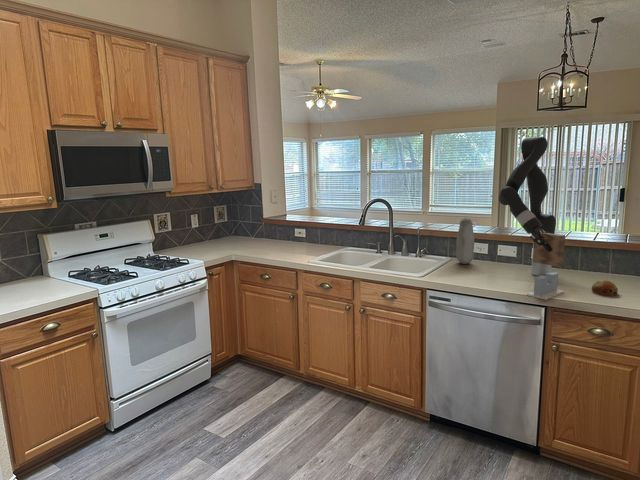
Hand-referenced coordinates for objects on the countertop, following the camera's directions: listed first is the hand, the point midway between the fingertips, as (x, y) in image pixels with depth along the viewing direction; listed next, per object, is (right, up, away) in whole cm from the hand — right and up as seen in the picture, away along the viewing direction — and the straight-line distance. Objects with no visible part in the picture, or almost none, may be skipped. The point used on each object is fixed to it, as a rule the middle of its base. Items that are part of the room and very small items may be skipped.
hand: (552, 250), depth 195 cm
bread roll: (+27, -20, +5) cm, 34 cm away
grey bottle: (-18, -10, +67) cm, 70 cm away
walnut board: (-1, -6, +3) cm, 7 cm away
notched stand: (-1, -20, +5) cm, 21 cm away
